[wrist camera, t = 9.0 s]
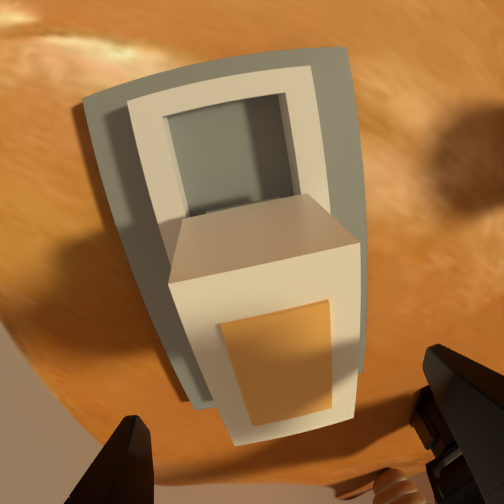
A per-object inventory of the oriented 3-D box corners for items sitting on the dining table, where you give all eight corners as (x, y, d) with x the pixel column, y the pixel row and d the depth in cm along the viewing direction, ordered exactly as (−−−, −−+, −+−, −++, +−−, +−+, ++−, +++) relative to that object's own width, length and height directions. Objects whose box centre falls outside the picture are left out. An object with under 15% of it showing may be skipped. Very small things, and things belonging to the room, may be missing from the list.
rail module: (295, 182, 14) (362, 244, 8) (311, 321, 18) (354, 420, 11) (186, 204, 14) (167, 287, 8) (224, 340, 18) (235, 448, 11)
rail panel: (338, 49, 13) (360, 41, 10) (357, 363, 21) (370, 387, 19) (89, 98, 12) (68, 97, 10) (194, 399, 21) (194, 427, 19)
